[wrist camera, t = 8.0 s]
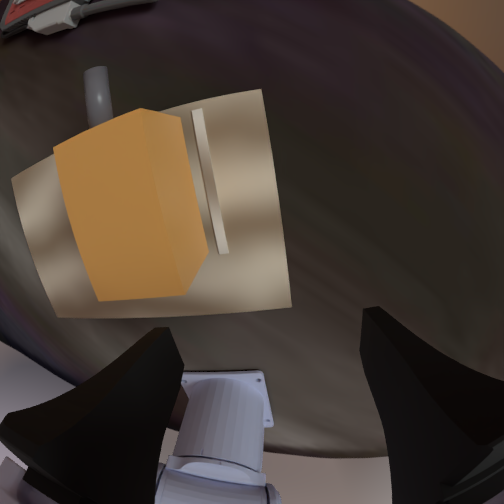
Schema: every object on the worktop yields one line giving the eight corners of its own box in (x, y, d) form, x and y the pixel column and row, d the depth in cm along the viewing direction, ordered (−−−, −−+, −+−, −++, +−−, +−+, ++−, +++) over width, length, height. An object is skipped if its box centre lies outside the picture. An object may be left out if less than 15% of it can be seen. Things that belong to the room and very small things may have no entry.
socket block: (208, 251, 16) (185, 294, 12) (137, 261, 17) (99, 301, 12) (172, 70, 12) (132, 45, 8) (100, 98, 13) (47, 91, 8)
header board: (290, 297, 20) (294, 338, 15) (64, 311, 22) (38, 337, 18) (261, 92, 15) (258, 74, 10) (20, 175, 17) (-16, 187, 13)
